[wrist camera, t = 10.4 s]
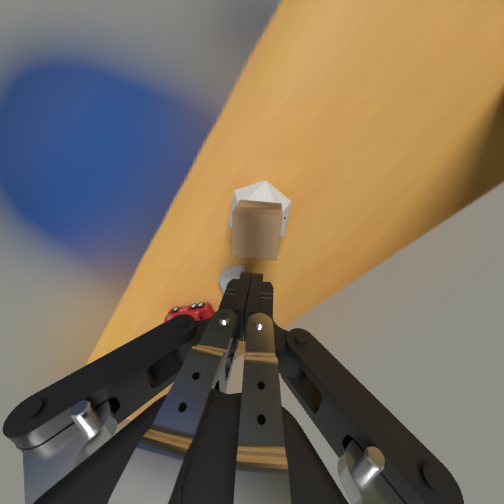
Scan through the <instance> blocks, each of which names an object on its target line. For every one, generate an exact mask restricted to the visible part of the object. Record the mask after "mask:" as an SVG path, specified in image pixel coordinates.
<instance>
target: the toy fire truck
mask: <svg viewBox="0 0 504 504" xmlns="http://www.w3.org/2000/svg"><path fill="white" fill-rule="evenodd" d="M181 314H188V315H191V316H193V317H194V318H195V321H198V320H204V319H208V318H211V317H212V315H213V314H214V311H213V309H212V307H211V305H210V303H205V305H204V303H203V302H201V303H199V304H198V306H197V304H192V305H191V306H185V307H180V308H179V307H175V308H174V309H170V311H169V312H168V315H167V316H166V317H165V321H164V323H165V322H166V321H168V320H170V319H172V318H174V317H176V316H178V315H181Z"/></svg>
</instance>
